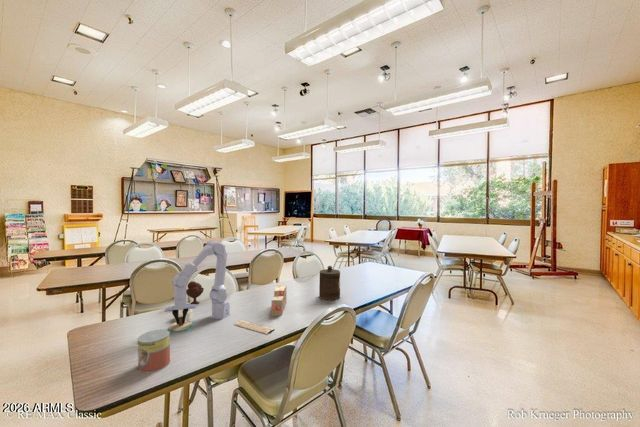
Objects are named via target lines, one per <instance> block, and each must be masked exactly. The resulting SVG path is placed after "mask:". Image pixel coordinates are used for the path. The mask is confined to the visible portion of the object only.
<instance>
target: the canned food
mask: <svg viewBox="0 0 640 427" xmlns="http://www.w3.org/2000/svg"><path fill="white" fill-rule="evenodd" d="M167 330H168V329H156V330H150V331H147V332H144V333H143V334H141V335H139V337H138V338H137V352H138V354H137V357H138V358H137V360H138V363H137V364H138V368H137V371H138V372H140V373H144V374H148V373H149V374H150V373H155V372H157V371H161V370H163V369H165V368H166V367H168V366H169V365H170V363H171V350H170V349H171V347H170V346H171V344H170V343H171V341H170V339H171V337H170V336H171V335H170V334H171V333H170V332H169V331H167Z"/></svg>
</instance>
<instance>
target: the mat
mask: <svg viewBox="0 0 640 427" xmlns="http://www.w3.org/2000/svg"><path fill="white" fill-rule="evenodd" d="M191 322H192V327H190V328H189V329H186V330H183V331H170V330H169V327H168V329H166V330H167V331H169V332H170V334H175V333H182V332H183V333H186V332H192V330H193V328H194V325H195V321H191Z"/></svg>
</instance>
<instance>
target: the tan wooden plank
mask: <svg viewBox="0 0 640 427" xmlns="http://www.w3.org/2000/svg"><path fill="white" fill-rule="evenodd" d="M233 326H236V327H239V328H243V329H246V330H249V331H253V332H257V333H260V334H263V335H268V334H269V333H270V332H271V331H275V330H276V329H275V328H270V327H268V326H263V325H260V324H256V323H253V322H249V321H245V320H237V321H236V322H234V323H233Z"/></svg>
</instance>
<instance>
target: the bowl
mask: <svg viewBox="0 0 640 427" xmlns="http://www.w3.org/2000/svg"><path fill="white" fill-rule="evenodd" d="M193 310H194V309H188V312H187V314H186V317H185V321H191V319H193V315H194V314H193V313H194V311H193ZM178 316H179V317H183V310H179V315H178ZM174 321H175V322H176V319H175V318H174Z"/></svg>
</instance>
